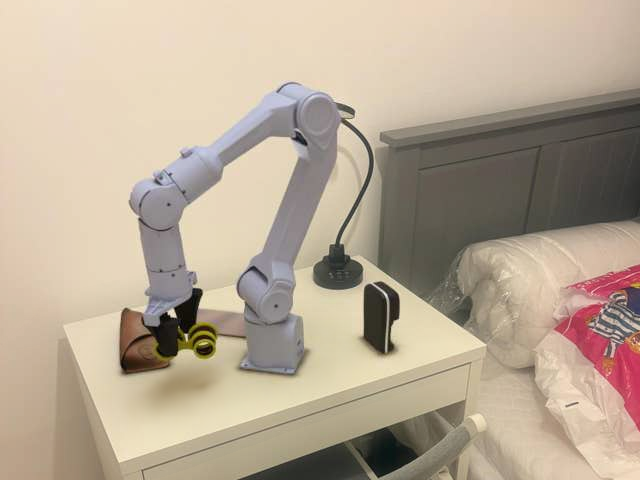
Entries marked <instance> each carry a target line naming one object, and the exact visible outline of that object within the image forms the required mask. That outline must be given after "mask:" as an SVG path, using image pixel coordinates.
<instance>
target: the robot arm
mask: <svg viewBox="0 0 640 480" xmlns="http://www.w3.org/2000/svg"><path fill="white" fill-rule="evenodd" d="M342 120H343V118H342V116H341V114H340V112H339V108H338V107H337V104H336V102H335V101H334V99H333V98H332V96H331V95H330V94H329V93H326V92H324V91H321V90H315V89H312V88H309V87H307V86H305V85H302V84H301V83H299V82H296V81H286V82H284V83H282V84H280V85H279V86H278V87H277V88H276V90H273V91H271V92H269V93H267V94H265V95H264V97H262V99H261V100H260V102H259V103H258V104H257V105H256V106H254V108H252V109H251V110H250V111H249V112H248V113H246V114H245V115H244V116H243V117H242V118H241V119H240V120H238V121H237V122H235V124H234V125H233V126H231V127H230V128H229V129H228V130H226V131H225V132H224V133H223V134H222V135H220V136H219V137H218V138H217V139H216V140H215V141H214V142H212V143H211V144H209V146H202V145H193V146H192V147H188V146H184V147H183V148H182V149H181V150H179V153H180V156H179V157H178V158H176V159H175V160H174V161H173V162H171V163H170V164H168V165H167V166H165V167H164V168H163V169H161V170H159V169H156V170H155V171H153V173H152V176H153V177H149V178H143V179H141V180H139V181H137V182H135V184H134V185H133V187H132V189H131V190H132V191H130V193H129V199H128V201H127V202H128V206H129V207H130V210H132V212H133V213H134V214H135V215H136V216H138V218H137V224H138V230H139V233H140V236H139V237H140V238H139V239H140V243H141V248H142V253H143V259H144V264H145V269H146V274H147V279H148V284H149V286H148V287H147V288H146V289H145V290H144V295H145V296H146V297H148V300H147V305H146V308H145V309H144V312H142V313H143V316H142V318H141V321H142V325H143V326H144V327H146V328H147V329H148V330H149V331H150V333H151V334H152V335H153V336H154V338H155V339H156V341H157V343H158V345H159V346H160V348H161V350H162V352H163V354H164V356H172V357H174V358H175V357H177V356H178V355H179V352H178V328H179V329H181V330H182V332H183V333H184V335H188V332H189V330H190V329H191V328H192V327H193V326H194V325H195V324H196V320H197V312H198V309H199V306H200V303H201V301H202V297H203V295H204V291H203V289H202V288H199V287H194V286H195V285H197V283H198V277H197V276H198V275H197V271H195V270H187V262H186V256H185V255H186V254H185V249H184V244H183V243H184V242H183V237H182V232H181V229H180V221H181V219H182V216H183V214H184V210H185V209H186V208H187V207H188V206H189V205H191V204H192V203H194V202H195V201H196V200H198V199H199V198H200V197H202V196H203V195H205V193H207V192H208V191H210V190H211V189H212V188H214V187H215V186H216V185H217V184H219V183H220V182H221V181H222V179H223V173H224V169H225V167H227V166H228V165H230V164H231V163H233V162H234V161H236V160H238V159H239V158H240V157H242V156H243V155H245V154H246V153H248V152H249V151H250V150H252V149H254V148H255V147H257V146H258V145H260V144H261V143H263V142H264V141H265V140H267V139H269V138H271V137H275V138H290V141H291V143H292V145H293V147H294V149H295V152H296V154H297V157H298V158H297V161H296V162H295V166H294V168H293V171H292V173H291V176H290V179H289V181H288V183H287V186H286V189H285V191H284V195H283V196H282V198H281V201H280V204H279V207H278V210H277V212H276V214H275V217H274V219H273V222H272V224H271V227H270V230H269V232H268V235H267V237H266V240H265V242H264V245H263V248H262V250H261V252H259V253H258V254H256V255H254V256H252V257H251V258H250V260H249V263H248V264H247V267H246V268H245V269H244V270H243V271H242V272H241V273H240V274H239V276H238V277H237V280H236V284H235V290H236V294H237V295H238V297H239V298H240V299H241V300H242V301H243V302H244V303H243V304H244V308H243V314H244V321H245V331H246V338H245V339H246V340H245V341H246V349H247V354H246V355H245V357H244V359H243V360H242V361H241V363H240V365H239V366H240V368H241V369H244V370H251V371H253V370H254V371H259V372H260V371H261V372H269V373H278V374H285V375H294V374H295V372H296V370H297V368H298V366H299V365H300V363H301V361H302V359H303V356H305V353H306V348H305V336H304V321H303V317H302V316H300V315H299V314H294V313H292V309H293V306H294V292H295V290H296V286H297V281H296V275H295V272H294V271H295V269H294V265H295V263H296V260H297V258H298V255H299V254H300V253H299V252H300V250H301V249H302V245H303V243H304V241H305V238H306V236H307V234H308V231H309V228H310V226H311V224H312V221H313V219H314V216H315V214H316V211H317V209H318V206H319V204H320V203H321V199H322V197H323V195H324V192H325V190H326V188H327V185H328V182H329V180H330V177H331V175H332V172H333V170H334V168H335V165H336V162H337V159H338V130H339V128H340V125H341V124H342V123H341V122H342ZM171 310H173V311H174V313H175V317H174V316H171V314H169V311H171Z"/></svg>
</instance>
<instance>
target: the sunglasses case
mask: <svg viewBox="0 0 640 480" xmlns="http://www.w3.org/2000/svg"><path fill="white" fill-rule="evenodd" d="M143 313H144V312H143V311H142V312H141V311H138V310H137V311H136V310H133V309H130V308H128V307H124V308H123V309H122V310H121V314H120V322H119V347H118V348H119V351H118V352H119V367H120V369H122V370H123V371H124V372H125V373H127V374H130V373H140V372H147V371H153V370H158V369H162V368H166V367H167V366H170V363H171V362H170V360H169V361H164V360H161V359H159V358H158V357H157V356H156V355H155V354H154V351H153V348H154V345H155V344H156V339H155V338H154V336H153V335H152V334H151V333H150V331H149V330H148V329H147V328H146V327H144V326H143V325H142V321H141V318H142V316H143Z"/></svg>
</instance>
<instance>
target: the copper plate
mask: <svg viewBox="0 0 640 480" xmlns="http://www.w3.org/2000/svg"><path fill="white" fill-rule="evenodd" d="M200 322H208V323H211V324H213V325H214V326H215V327H216V328H217V331H218V336H226V337H233V338H234V337H235V338H243V339H246V331H245V321H244V313H236V312H230V311H229V312H227V311H219V310H210V309H200V308H198V312H197V320H196V324H197V323H200Z"/></svg>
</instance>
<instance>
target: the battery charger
mask: <svg viewBox="0 0 640 480" xmlns="http://www.w3.org/2000/svg"><path fill="white" fill-rule="evenodd" d="M362 305H363V307H362V309H363V336H362V337H363V339H364V340H365V341H366V342H367V343H369V345H370V346H372V348H374V349H375V350H376V351H378V352H379V353H380V354H387V353H390V352H391V351H392V352H393V350H394V349H395V344H394V343H393V342H392V339H391V338H392V328H393V325H394V324H395V322H396V321H398V320H400V316H401V315H400V313H401V298H400V295H399V293H398V292H397V291H396V290H395V289H394V288H393V287H391V286H390V285H388V284H387V283H386V282H384V281H381V280H379V281H375V282H369V283H367V284H365V286H364V288H363V304H362Z"/></svg>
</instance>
